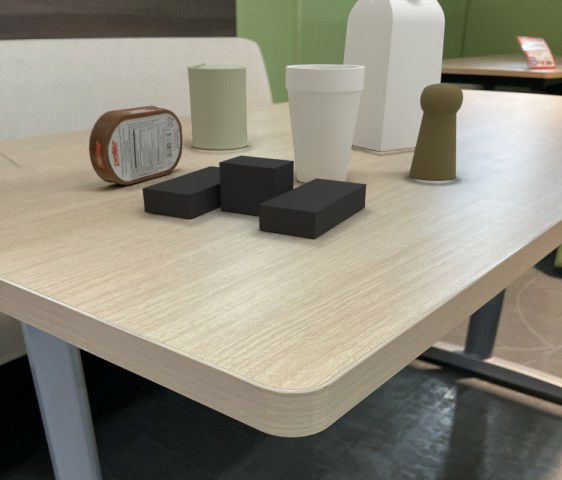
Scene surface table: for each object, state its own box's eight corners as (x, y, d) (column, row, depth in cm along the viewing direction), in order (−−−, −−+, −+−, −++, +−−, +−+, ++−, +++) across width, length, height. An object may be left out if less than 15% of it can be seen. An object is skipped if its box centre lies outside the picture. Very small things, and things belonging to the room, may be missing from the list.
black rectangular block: (220, 210, 67) (218, 162, 65) (242, 201, 70) (240, 155, 68) (274, 218, 64) (274, 168, 62) (293, 208, 68) (294, 160, 65)
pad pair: (144, 211, 66) (141, 188, 65) (211, 187, 76) (210, 165, 75) (314, 239, 58) (315, 212, 57) (365, 207, 68) (366, 183, 67)
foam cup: (311, 190, 75) (314, 70, 69) (271, 176, 82) (270, 65, 75) (373, 181, 79) (381, 67, 73) (330, 168, 86) (334, 63, 80)
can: (187, 141, 105) (181, 61, 99) (240, 139, 107) (238, 61, 101) (198, 151, 97) (192, 65, 91) (255, 148, 100) (253, 64, 94)
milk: (388, 135, 112) (403, -39, 99) (435, 144, 103) (458, -45, 90) (335, 141, 106) (343, -44, 93) (380, 151, 97) (396, -50, 85)
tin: (171, 167, 86) (165, 101, 82) (189, 169, 85) (184, 102, 81) (92, 189, 75) (81, 114, 71) (111, 192, 74) (101, 116, 70)
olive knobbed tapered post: (455, 171, 85) (467, 82, 79) (456, 181, 79) (469, 86, 74) (410, 169, 86) (419, 81, 80) (408, 179, 81) (417, 85, 75)
